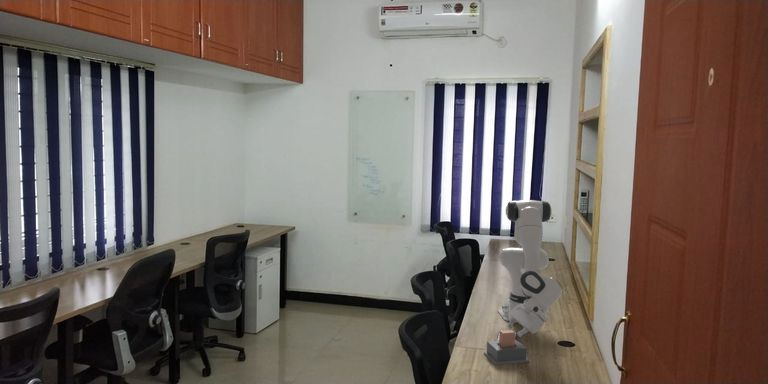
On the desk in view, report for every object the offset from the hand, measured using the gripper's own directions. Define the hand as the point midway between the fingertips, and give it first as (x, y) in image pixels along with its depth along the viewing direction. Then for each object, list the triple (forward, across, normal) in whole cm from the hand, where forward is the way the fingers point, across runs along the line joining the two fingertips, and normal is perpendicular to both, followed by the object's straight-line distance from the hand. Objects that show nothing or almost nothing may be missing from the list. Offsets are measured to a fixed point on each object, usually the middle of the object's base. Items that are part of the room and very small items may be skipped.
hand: (513, 331), depth 237 cm
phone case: (+4, -21, +14) cm, 26 cm away
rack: (+10, 0, +6) cm, 12 cm away
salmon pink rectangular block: (+10, 0, +6) cm, 11 cm away
